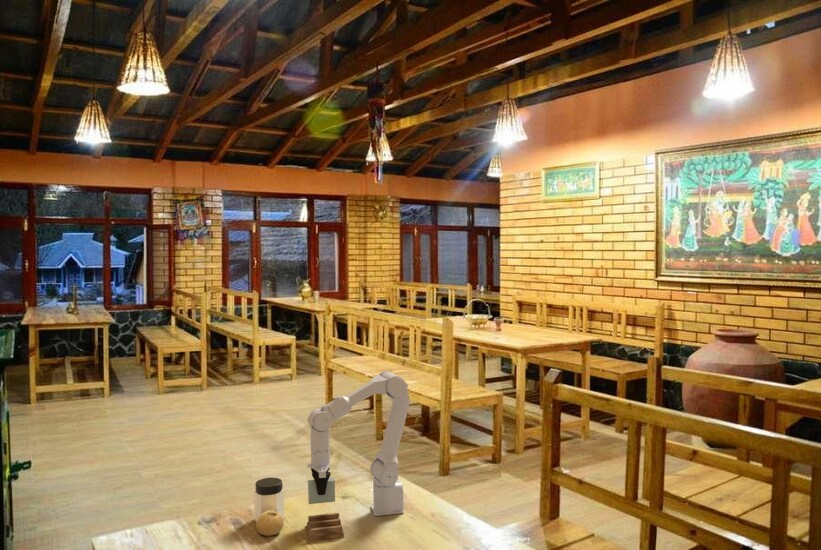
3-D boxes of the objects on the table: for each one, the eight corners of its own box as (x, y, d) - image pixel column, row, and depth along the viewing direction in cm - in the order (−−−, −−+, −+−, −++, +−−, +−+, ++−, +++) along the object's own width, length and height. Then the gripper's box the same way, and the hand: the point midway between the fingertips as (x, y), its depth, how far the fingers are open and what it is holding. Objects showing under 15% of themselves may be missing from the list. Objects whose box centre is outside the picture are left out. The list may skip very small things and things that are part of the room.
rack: (339, 521, 199) (339, 512, 199) (344, 536, 189) (343, 526, 189) (307, 525, 197) (306, 515, 197) (309, 540, 187) (309, 530, 187)
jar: (288, 520, 200) (287, 482, 200) (264, 528, 195) (263, 489, 194) (274, 511, 207) (274, 474, 206) (251, 518, 202) (250, 481, 201)
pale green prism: (334, 498, 200) (334, 477, 200) (335, 501, 198) (334, 480, 198) (308, 501, 199) (307, 480, 198) (308, 504, 196) (308, 483, 196)
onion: (256, 540, 187) (256, 516, 187) (255, 529, 195) (255, 506, 195) (284, 537, 190) (284, 513, 189) (282, 525, 197) (282, 502, 197)
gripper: (305, 442, 204) (306, 485, 204) (308, 457, 189) (309, 503, 190) (328, 441, 205) (329, 483, 206) (332, 456, 191) (333, 501, 192)
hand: (321, 492), depth 198 cm, fingers closed on pale green prism, 2 cm apart
